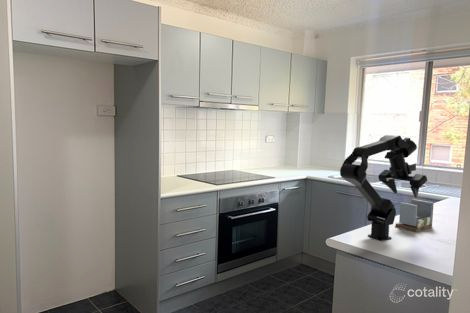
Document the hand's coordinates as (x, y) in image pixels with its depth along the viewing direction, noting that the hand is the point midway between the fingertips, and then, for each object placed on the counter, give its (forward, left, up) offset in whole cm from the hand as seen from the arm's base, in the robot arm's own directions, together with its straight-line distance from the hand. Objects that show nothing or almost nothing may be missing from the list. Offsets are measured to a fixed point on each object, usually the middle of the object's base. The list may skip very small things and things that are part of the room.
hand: (405, 195), depth 151 cm
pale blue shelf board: (+6, +1, -14) cm, 15 cm away
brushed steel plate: (+16, +4, -14) cm, 22 cm away
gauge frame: (+10, +3, -16) cm, 19 cm away
